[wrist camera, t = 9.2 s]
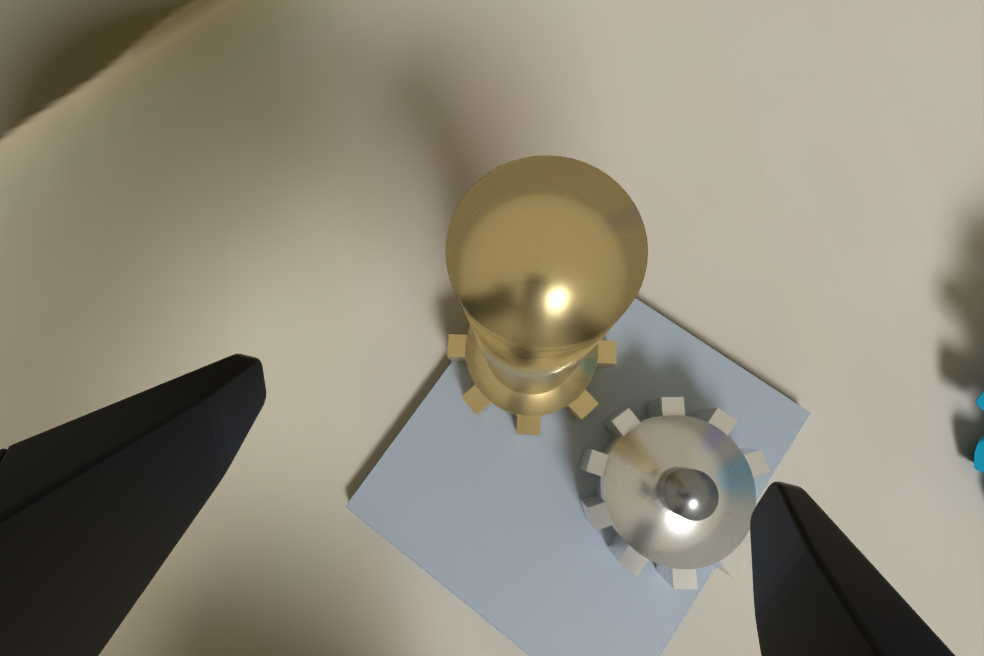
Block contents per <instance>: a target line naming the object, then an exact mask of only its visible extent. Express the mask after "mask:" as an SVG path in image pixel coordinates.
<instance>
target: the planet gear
mask: <svg viewBox="0 0 984 656" xmlns="http://www.w3.org/2000/svg"><path fill="white" fill-rule="evenodd" d="M647 258H648V246H647V236H646V232H645V227H644V224H643V221H642V219H641V216H640V213H639V212H638V210H637V208H636V206H635V204H634V202H633V201H632V200H631V198H630V197H629V195H628V194H627V193H626V192H625V190H624V189H623V188H622V187H621V186H620V185H619V184H618V183H617V182H616V181H614V180H613V179H612V178H611V177H610V176H608V175H607V174H605V173H604V172H602V171H601V170H599V169H597V168H595V167H593V166H591V165H589V164H587V163H584V162H581V161H578V160H575V159H571V158H566V157H561V156H533V157H527V158H522V159H518V160H515V161H511V162H509V163H507V164H504V165H502V166H500V167H498V168H496V169H494V170H493V171H491V172H489V173H488V174H486V175H485V176H484V177H483V178H481V179H480V180H479V181H478V182H477V183H476V184H474V185H473V186H472V187H471V188H470V189H469V191H468V192H467V193H466V195H465V196H464V197H463V198H462V200H461V202H460V203H459V205H458V207H457V208H456V210H455V212H454V215H453V217H452V219H451V222H450V226H449V229H448V233H447V240H446V262H447V269H448V273H449V277H450V280H451V283H452V285H453V288H454V290H455V292H456V295H457V297H458V299H459V301H460V303H461V306H462V308H463V310H464V312H465V315H466V317H467V319H468V321H469V323H470V326H469V329H468V333H467V335H459V334H448V348H447V357H448V358H449V359H450V360H451V361H457V362H466V363H467V367H468V370H469V373H470V375H471V378H472V380H473V381H474V383H475V385H474V386H473V387H472V388H471V389H469V390H468V391H467V392H466V393H465V394H464V395H463V396H462V397H461V398H462V399H463V400H464V401H465V402H466V404H467V405H468V406H469V407H470V408H471V409H472V410H473V411H474V413H475V414H476V415H478V416H479V415H481V414H482V413H483V412H484V411H485V410H486V409H487V408H488V407H489V406H490V405H491V404H494V405H495V406H496V407H498V408H500V409H502V410H503V411H506V412H508V413H511V414H514V415H517V431H516V434H528V435H540V423H541V416H545V415H549V414H552V413H555V412H557V411H559V410H561V409H563V408H565V407H566V408H567V409H568V410H569V412H570V413H571V414H572V415H573V416H574V417H575V418H576V419H577V420H578V421H579V420H582V419H583V418H584V417H585V416H587V415H588V414H589V413H590V412H591V411H592V410H593V409H594V408H595V407H596V406H597V405H598V404H599V403H598V402H597V401H596V400H595V399H594V398H593V397H592V396H591V395H590V394H589V393H588V392H587V390H586V388H587V386H588V385H589V383H590V381H591V379H592V378H593V375H594V372H595V370H596V367H597V368H611V367H613V366H614V365H615V364H616V350H617V341H609V340H601V339H602V338H603V337H604V336H605V335H606V333H607V332H608V331H609V330H610V329H611V328H612V327H613V325H614V324H615V323H616V322H617V321H618V320H619V319H620V317H621V316H622V315H623V314H624V313H625V312H626V311H627V309H628V308H629V306H630V305H631V304H632V302H633V301H634V299H635V297H636V295H637V294H638V292H639V290H640V288H641V285H642V282H643V279H644V276H645V272H646V267H647Z"/></svg>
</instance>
